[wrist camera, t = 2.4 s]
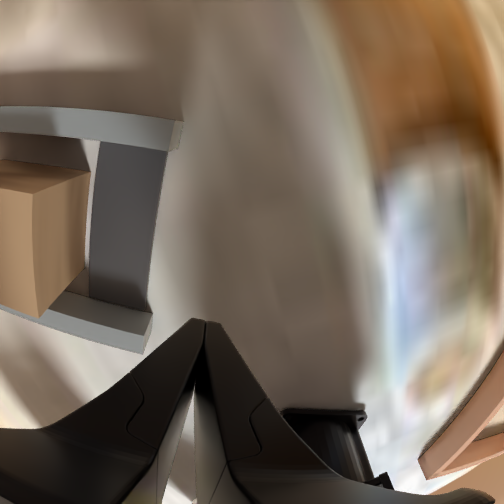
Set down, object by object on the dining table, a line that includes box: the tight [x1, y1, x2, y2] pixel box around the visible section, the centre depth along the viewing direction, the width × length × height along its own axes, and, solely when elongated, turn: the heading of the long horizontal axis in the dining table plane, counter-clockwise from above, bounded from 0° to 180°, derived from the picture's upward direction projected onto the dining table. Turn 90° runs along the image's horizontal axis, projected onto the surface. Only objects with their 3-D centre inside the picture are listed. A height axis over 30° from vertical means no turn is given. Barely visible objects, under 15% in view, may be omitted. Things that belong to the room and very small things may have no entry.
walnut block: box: [0, 159, 91, 319], centre depth 11 cm, size 6×5×5 cm
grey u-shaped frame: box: [0, 106, 184, 354], centre depth 12 cm, size 14×11×2 cm
